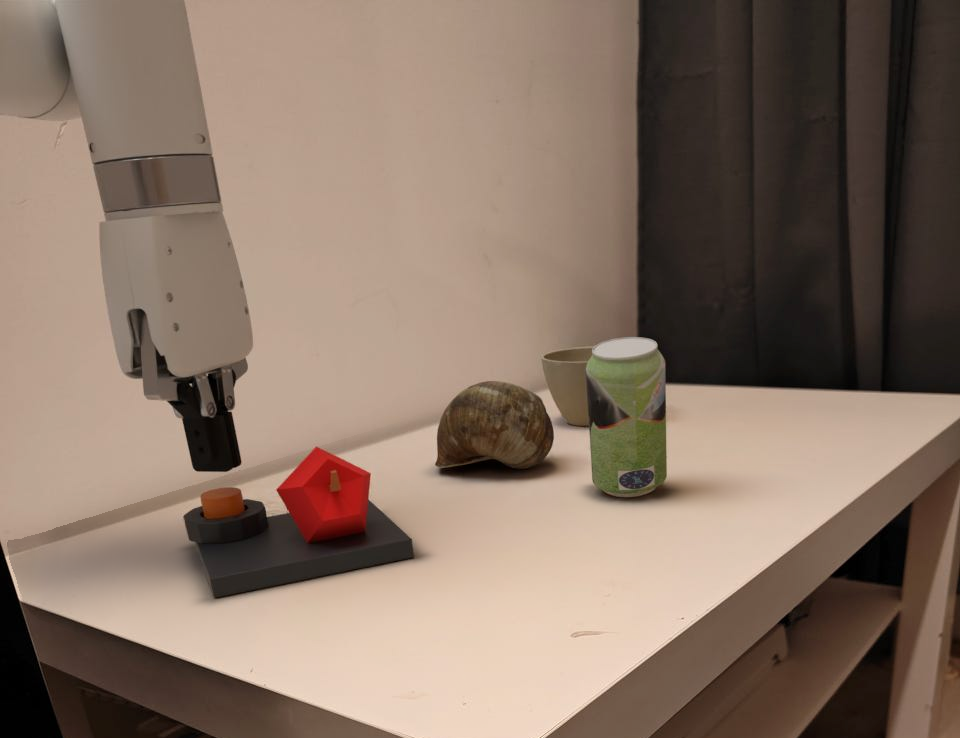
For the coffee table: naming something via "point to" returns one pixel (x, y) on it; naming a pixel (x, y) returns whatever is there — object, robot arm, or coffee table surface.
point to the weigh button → (222, 502)
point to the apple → (326, 496)
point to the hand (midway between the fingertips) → (217, 468)
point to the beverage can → (627, 416)
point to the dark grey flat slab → (285, 548)
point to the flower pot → (568, 382)
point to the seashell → (494, 427)
